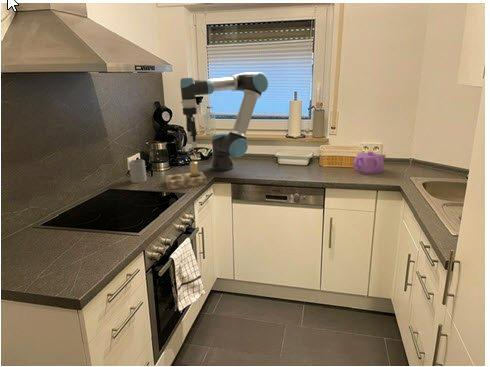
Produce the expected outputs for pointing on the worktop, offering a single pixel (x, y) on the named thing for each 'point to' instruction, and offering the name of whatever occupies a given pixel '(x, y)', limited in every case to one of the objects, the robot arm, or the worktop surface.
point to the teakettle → (369, 163)
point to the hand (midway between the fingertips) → (192, 145)
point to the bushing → (194, 169)
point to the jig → (185, 180)
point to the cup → (137, 171)
